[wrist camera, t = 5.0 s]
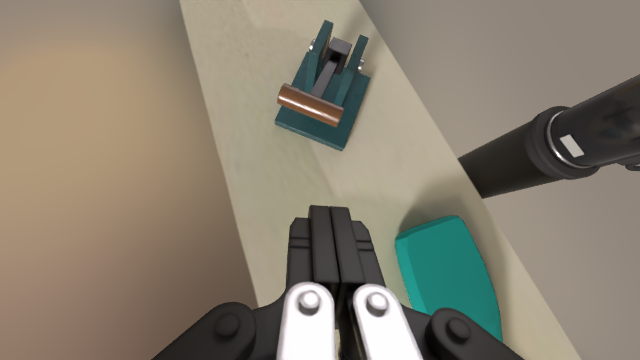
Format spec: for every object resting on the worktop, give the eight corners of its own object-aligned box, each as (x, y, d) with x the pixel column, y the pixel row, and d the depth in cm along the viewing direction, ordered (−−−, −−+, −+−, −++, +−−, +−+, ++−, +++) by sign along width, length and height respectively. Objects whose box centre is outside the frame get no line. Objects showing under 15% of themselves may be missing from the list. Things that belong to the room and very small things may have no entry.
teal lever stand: (342, 151, 38) (367, 111, 27) (274, 124, 38) (271, 72, 27) (368, 82, 42) (400, 20, 30) (306, 56, 41) (315, -16, 30)
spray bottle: (454, 213, 38) (529, 403, 34) (383, 236, 36) (454, 442, 32) (468, 210, 36) (552, 418, 31) (392, 235, 33) (471, 462, 29)
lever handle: (334, 134, 24) (343, 112, 22) (275, 110, 24) (279, 86, 22) (358, 70, 32) (366, 50, 30) (314, 51, 32) (319, 30, 30)
